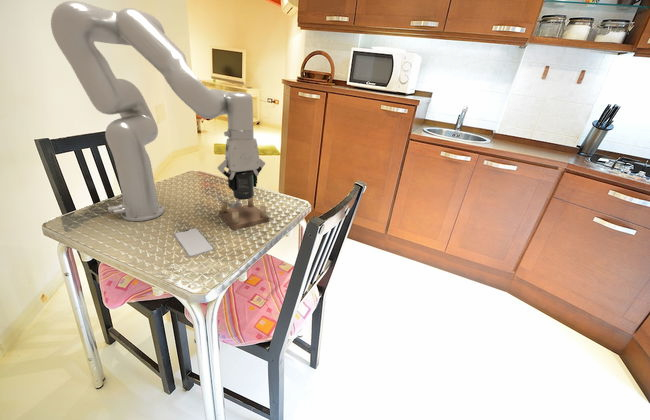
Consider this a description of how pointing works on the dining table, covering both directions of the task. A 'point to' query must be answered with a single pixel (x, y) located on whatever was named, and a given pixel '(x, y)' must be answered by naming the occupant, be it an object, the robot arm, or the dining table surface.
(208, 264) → the dining table surface
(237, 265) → the dining table surface
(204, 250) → the smartphone
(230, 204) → the pliers
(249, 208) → the board
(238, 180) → the supplement bottle
